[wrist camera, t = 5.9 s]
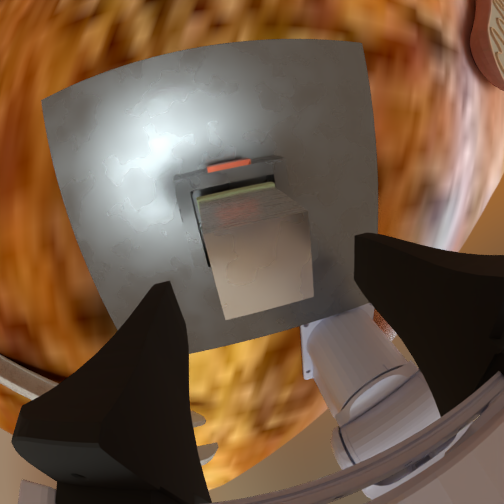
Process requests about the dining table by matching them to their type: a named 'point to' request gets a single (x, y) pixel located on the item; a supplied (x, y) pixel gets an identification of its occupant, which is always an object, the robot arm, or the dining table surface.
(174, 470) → the robot arm
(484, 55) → the brown rounded block
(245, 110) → the stand
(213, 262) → the grey block
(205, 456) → the wrench
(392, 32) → the dining table surface
